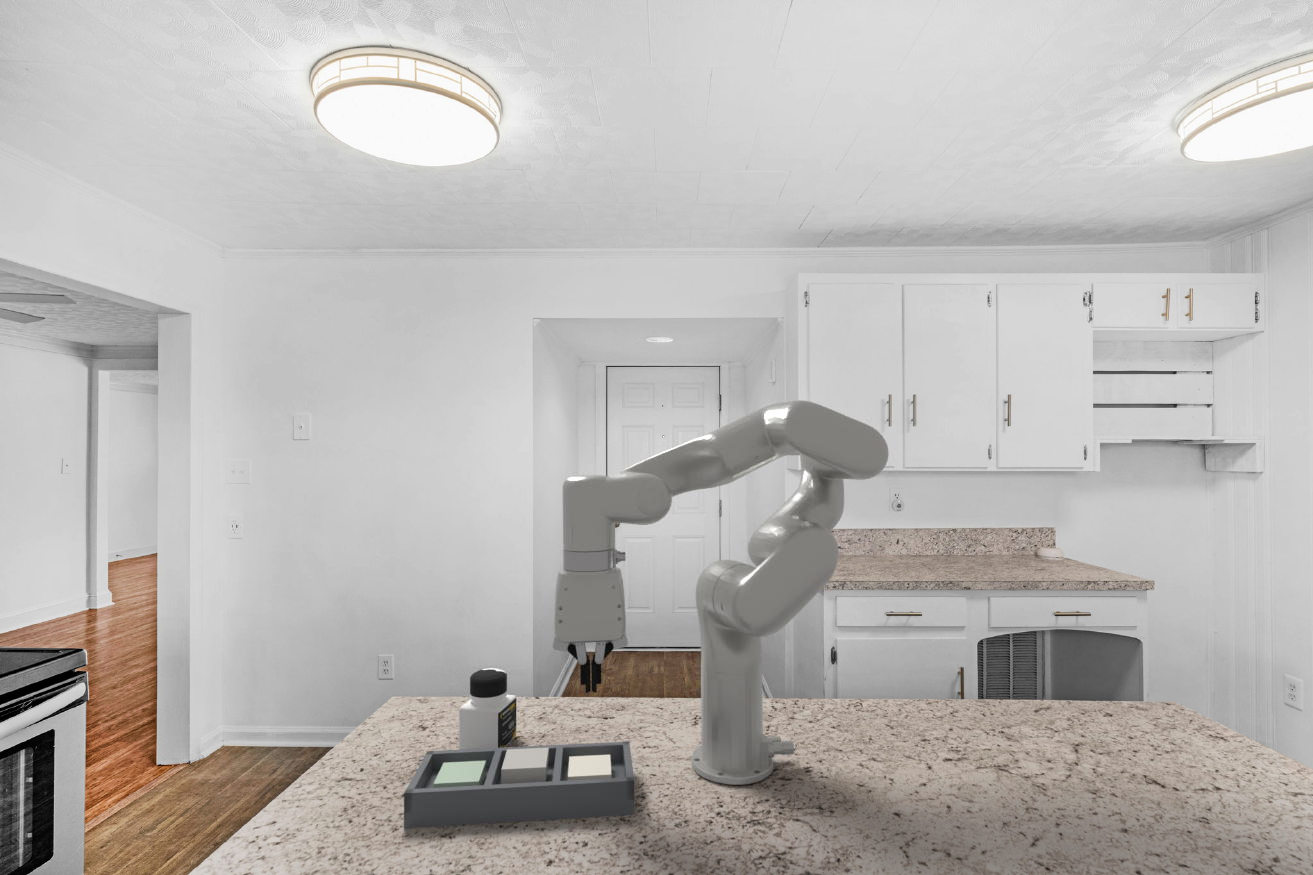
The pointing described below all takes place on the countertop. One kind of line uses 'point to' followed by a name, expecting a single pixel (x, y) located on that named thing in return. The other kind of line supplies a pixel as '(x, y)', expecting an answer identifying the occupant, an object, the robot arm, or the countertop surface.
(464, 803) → the grey compartment tray
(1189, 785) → the countertop surface
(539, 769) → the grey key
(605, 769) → the cream key
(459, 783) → the sage key
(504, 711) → the medicine bottle
